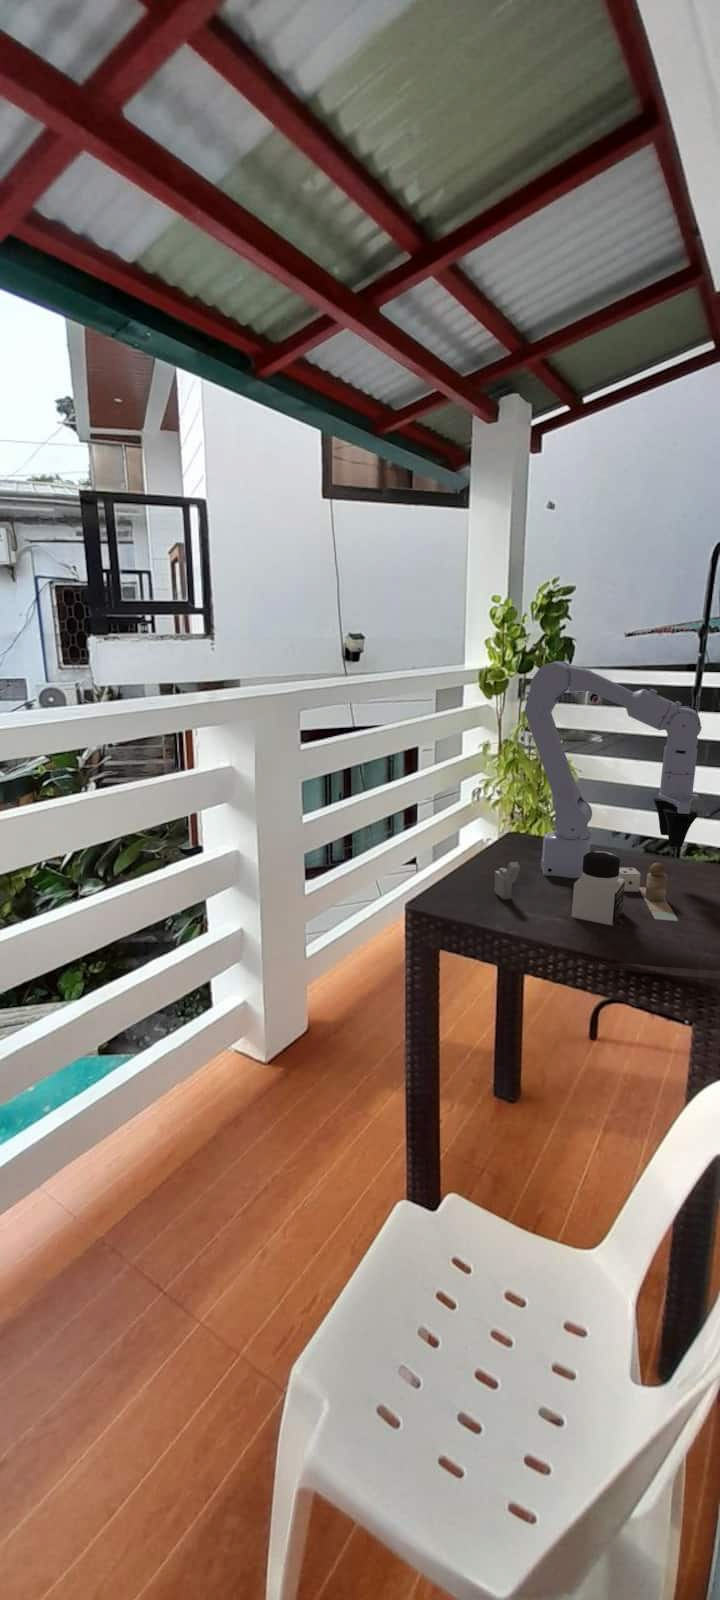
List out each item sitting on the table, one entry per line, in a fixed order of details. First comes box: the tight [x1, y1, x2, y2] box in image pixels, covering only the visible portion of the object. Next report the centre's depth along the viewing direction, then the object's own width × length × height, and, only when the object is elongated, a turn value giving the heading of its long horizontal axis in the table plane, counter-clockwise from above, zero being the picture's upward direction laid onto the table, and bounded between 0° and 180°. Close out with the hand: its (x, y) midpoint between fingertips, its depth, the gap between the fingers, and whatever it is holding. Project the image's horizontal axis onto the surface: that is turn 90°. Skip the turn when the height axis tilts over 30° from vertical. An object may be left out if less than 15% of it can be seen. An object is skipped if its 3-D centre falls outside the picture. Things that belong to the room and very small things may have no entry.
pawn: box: [645, 862, 668, 902], centre depth 130 cm, size 3×3×7 cm
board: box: [639, 886, 679, 922], centre depth 129 cm, size 8×19×1 cm, turn 169°
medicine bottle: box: [571, 850, 625, 926], centre depth 122 cm, size 7×7×12 cm
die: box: [619, 867, 641, 893], centre depth 136 cm, size 4×4×4 cm
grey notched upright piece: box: [493, 861, 521, 900], centre depth 133 cm, size 7×2×8 cm, turn 14°
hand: (670, 840), depth 136 cm, fingers open, 7 cm apart
